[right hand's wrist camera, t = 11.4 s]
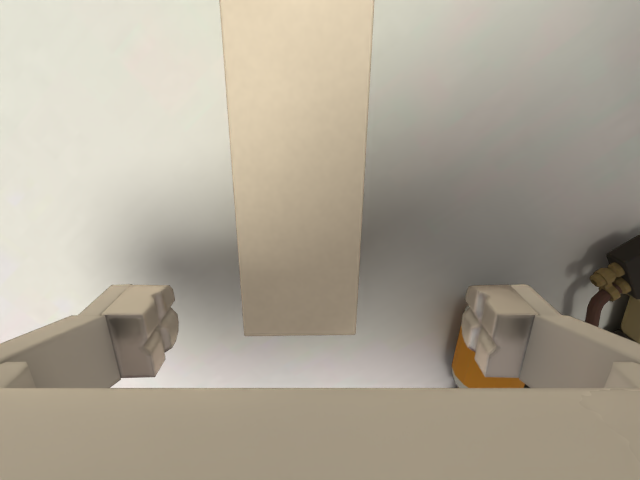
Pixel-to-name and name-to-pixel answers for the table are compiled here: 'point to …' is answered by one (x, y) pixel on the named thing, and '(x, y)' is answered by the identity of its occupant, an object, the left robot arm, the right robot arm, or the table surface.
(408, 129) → the table surface
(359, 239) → the beam
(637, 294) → the spray gun
